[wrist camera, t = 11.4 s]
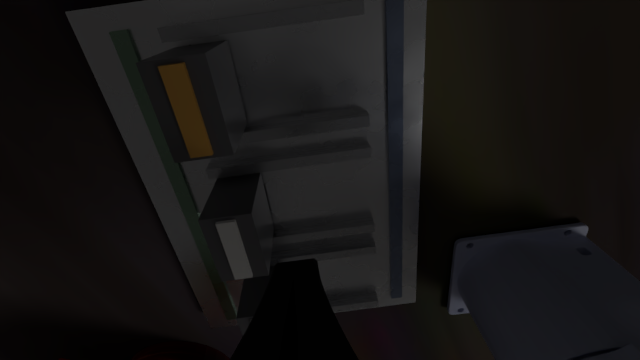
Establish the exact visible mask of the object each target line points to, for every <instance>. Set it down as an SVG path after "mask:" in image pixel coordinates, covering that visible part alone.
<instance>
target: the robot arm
mask: <svg viewBox="0 0 640 360" xmlns="http://www.w3.org/2000/svg"><path fill="white" fill-rule="evenodd" d="M587 232H588V226H587V225H585V224H584V223H573V224H565V225H558V226H550V227H543V228H535V229H528V230H520V231H512V232H505V233H497V234H490V235H482V236H475V237H467V238H460V239H458V240H456V242H455V243H454V249H453V258H452V267H451V276H450V285H449V294H448V303H447V310H448V312H449V314H452V315H455V314H463V313H470V314H471V316H472V318H473V320H474V322H475V323H476V325H477V327H478V329H479V331H480V333H481V334H482V336H483V338H484V340H485V342H486V344H487V346H488V347H489V349H490V351H491V353H492V355H493V357H494V358H495V360H640V281H639V280H637V279H636V278H635V277H634V276H633V275H631V274H630V273H629V272H628V271H627V270H625V269H624V268H623V267H622V266H621V265H619V264H618V263H617V262H616V261H615V260H613V259H612V258H611V257H610V256H609V255H607V254H606V253H605V252H604V251H603V250H601V249H600V248H599V247H598V246H597V245H595V244H594V243H593V242H592V241H591V240H589V239H588V238H587V237H586V234H587ZM469 243H470V244H469ZM467 244H469V245H467ZM230 360H358V358H357V356H356V354H355V353H354V351H353V349H352V347H351V346H350V344H349V342H348V340H347V338H346V336H345V335H344V333H343V331H342V329H341V327H340V325H339V323H338V321H337V319H336V316H335V314H334V312H333V310H332V307H331V305H330V303H329V301H328V298H327V296H326V293H325V290H324V288H323V285H322V282H321V278H320V273H319V268H318V262H317V260H316V259H314V258H311V259H304V260H296V261H289V262H281V263H277V264H276V265H275V266H274V269H273V272H272V275H271V277H270V280H269V283H268V285H267V287H266V290H265V292H264V295H263V297H262V299H261V301H260V303H259V306H258V308H257V310H256V312H255V314H254V316H253V318H252V320H251V322H250V324H249V326H248V328H247V330H246V332H245V334H244V335H243V337H242V339H241V341H240V343H239V345H238V346H237V348H236V350H235V352H234V354H233V355H232V357H231V359H230Z"/></svg>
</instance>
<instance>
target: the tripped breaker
mask: <svg viewBox="0 0 640 360" xmlns="http://www.w3.org/2000/svg"><path fill="white" fill-rule="evenodd" d="M136 66H137V68H138V71H139V73H140V76H141V78H142V81H143V84H144V86H145V89H146V91H147V94H148V96H149V99H150V101H151V104H152V107H153V109H154V112H155V114H156V117H157V119H158V122H159V124H160V127H161V130H162V132H163V135H164V137H165V140H166V142H167V145H168V148H169V150H170V153H171V155H172V158H173V160H174V163H179V162H186V161H194V160H201V159H208V158H216V157H223V156H230V155H234V154H235V151H236V149H237V147H238V144H239V142H240V139H241V137H242V135H243V132H244V130H245V127H246V125H247V123H248V122H247V118H246V114H245V110H244V106H243V102H242V98H241V94H240V90H239V86H238V82H237V78H236V74H235V70H234V65H233V61H232V57H231V53H230V49H229V45H228V41H227V40H225V41H218V42H211V43H204V44H197V45H189V46H182V47H175V48H172V49H169V50H167V51H164V52H162V53H159V54H157V55H154V56H152V57H149V58H146V59H144V60H141V61H139V62H136Z"/></svg>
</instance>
